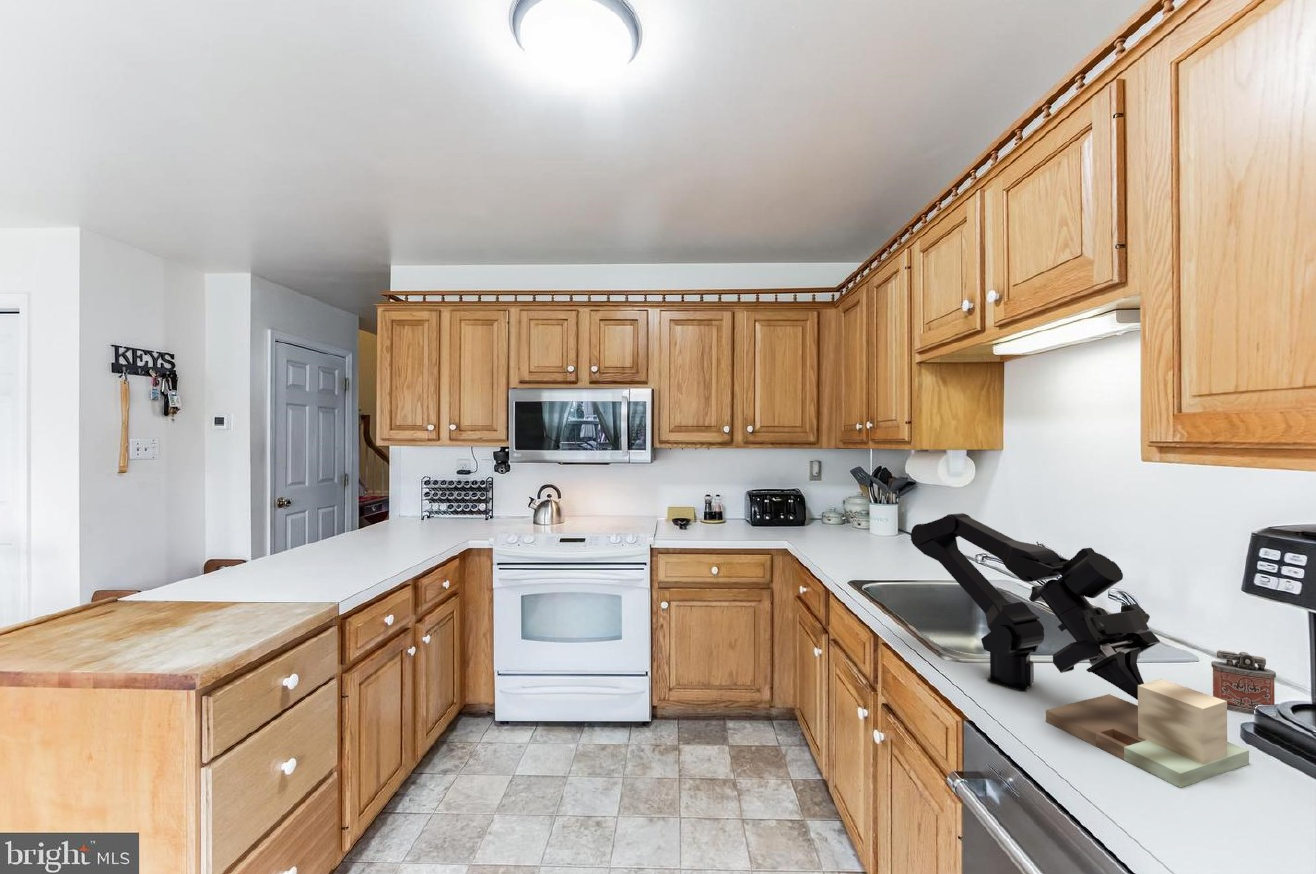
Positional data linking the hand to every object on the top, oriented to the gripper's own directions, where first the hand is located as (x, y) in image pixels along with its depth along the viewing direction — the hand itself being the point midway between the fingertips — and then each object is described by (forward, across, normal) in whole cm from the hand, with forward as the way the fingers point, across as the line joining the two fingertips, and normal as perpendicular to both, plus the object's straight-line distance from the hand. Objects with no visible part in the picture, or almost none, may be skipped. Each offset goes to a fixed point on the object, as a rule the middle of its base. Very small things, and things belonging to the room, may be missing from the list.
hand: (1147, 702), depth 88 cm
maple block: (+6, 0, 0) cm, 6 cm away
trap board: (+4, 0, +6) cm, 7 cm away
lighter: (+4, +28, +6) cm, 29 cm away
